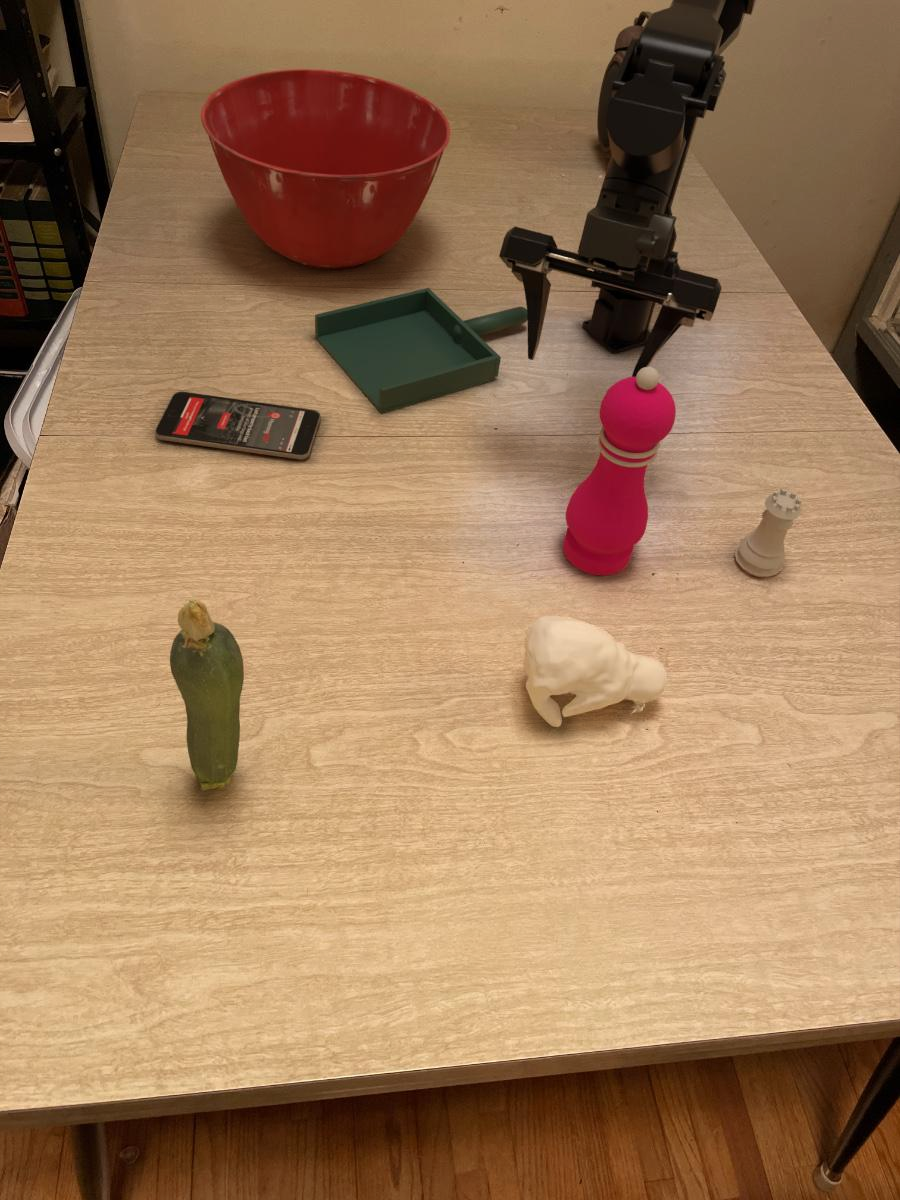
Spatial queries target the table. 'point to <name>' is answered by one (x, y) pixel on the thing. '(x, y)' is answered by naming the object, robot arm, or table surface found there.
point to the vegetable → (208, 693)
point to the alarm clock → (609, 76)
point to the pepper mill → (618, 475)
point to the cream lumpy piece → (585, 669)
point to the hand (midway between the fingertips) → (580, 373)
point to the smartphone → (239, 425)
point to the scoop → (412, 347)
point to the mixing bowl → (325, 160)
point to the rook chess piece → (769, 536)
